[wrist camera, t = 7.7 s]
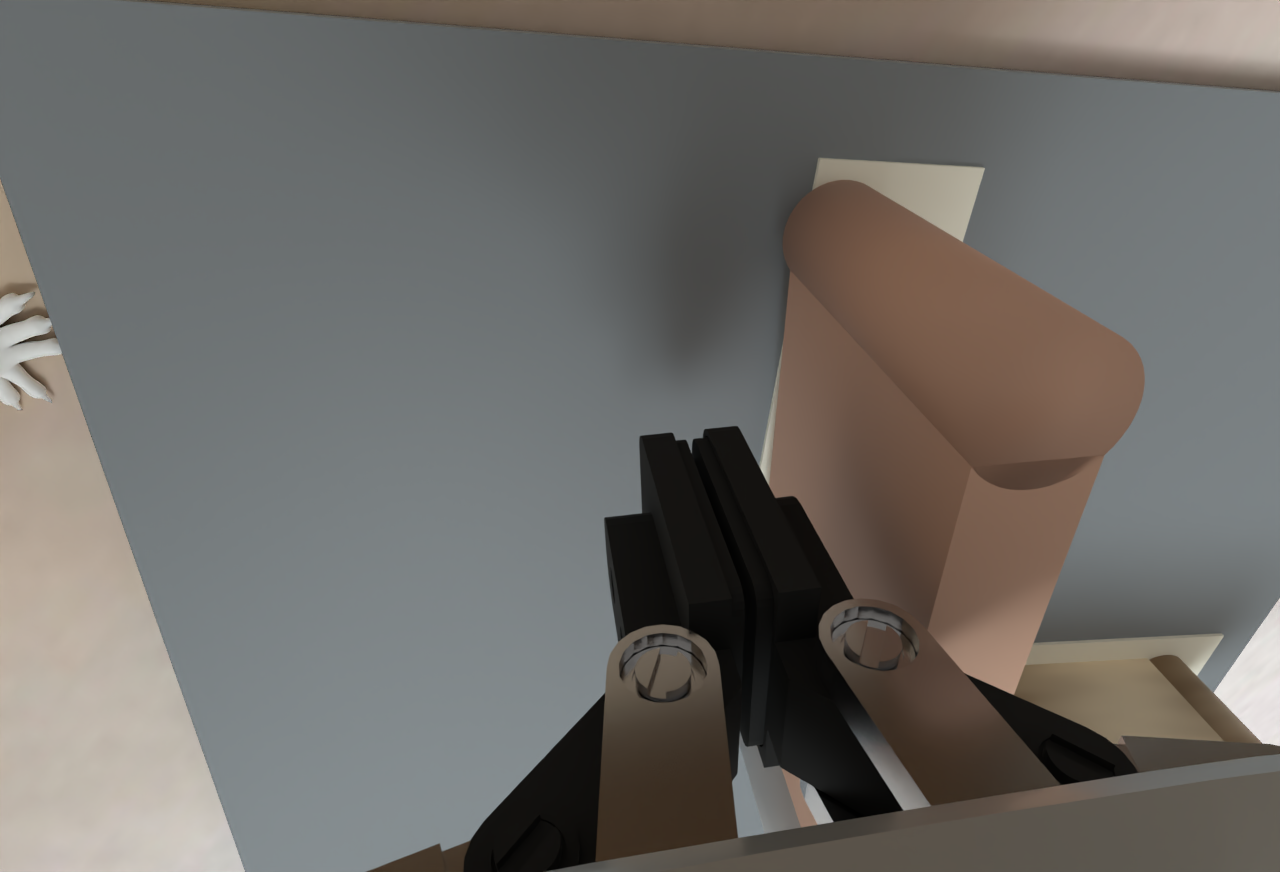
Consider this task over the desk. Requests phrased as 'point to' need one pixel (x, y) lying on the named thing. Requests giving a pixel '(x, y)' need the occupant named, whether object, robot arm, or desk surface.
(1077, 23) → the desk surface
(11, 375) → the rabbit figurine
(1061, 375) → the fence swing panel
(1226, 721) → the panel
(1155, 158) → the mat
